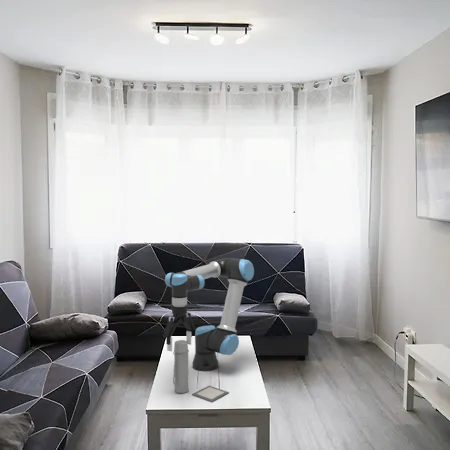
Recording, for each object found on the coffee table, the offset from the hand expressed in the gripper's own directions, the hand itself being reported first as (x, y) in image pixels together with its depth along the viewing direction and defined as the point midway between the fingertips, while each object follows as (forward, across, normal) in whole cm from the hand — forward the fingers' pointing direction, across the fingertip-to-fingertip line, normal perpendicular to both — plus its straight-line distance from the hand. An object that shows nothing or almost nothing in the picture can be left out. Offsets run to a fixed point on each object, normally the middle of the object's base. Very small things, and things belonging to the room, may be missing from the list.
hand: (179, 347), depth 225 cm
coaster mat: (+22, -8, +14) cm, 28 cm away
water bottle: (+23, 0, 0) cm, 23 cm away
